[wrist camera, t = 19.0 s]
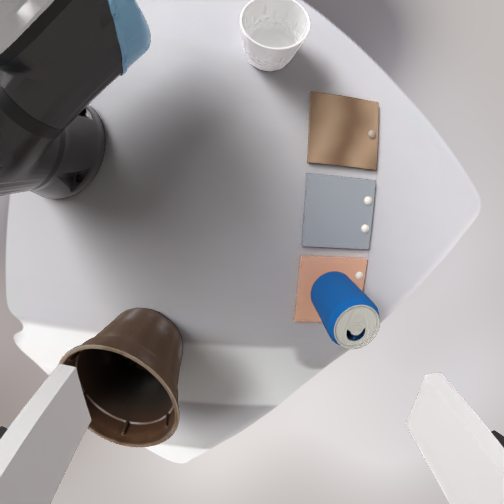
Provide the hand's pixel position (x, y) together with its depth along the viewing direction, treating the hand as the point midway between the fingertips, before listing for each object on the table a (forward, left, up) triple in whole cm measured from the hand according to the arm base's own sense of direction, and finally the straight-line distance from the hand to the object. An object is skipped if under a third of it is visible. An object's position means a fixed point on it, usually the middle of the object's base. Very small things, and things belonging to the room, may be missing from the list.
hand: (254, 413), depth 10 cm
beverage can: (+13, -8, -34) cm, 37 cm away
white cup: (+2, +26, -35) cm, 44 cm away
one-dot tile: (+13, +15, -35) cm, 40 cm away
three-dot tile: (+13, -8, -35) cm, 38 cm away
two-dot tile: (+13, +4, -35) cm, 37 cm away
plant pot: (-15, -18, -35) cm, 42 cm away
